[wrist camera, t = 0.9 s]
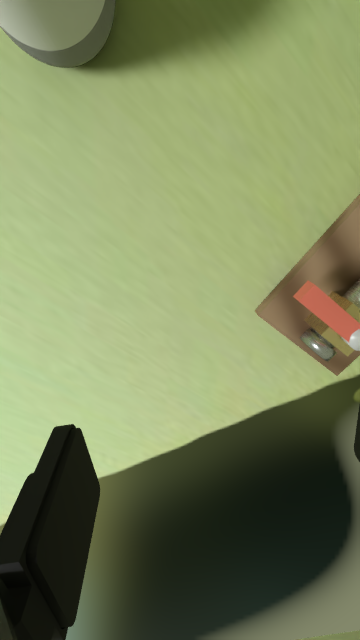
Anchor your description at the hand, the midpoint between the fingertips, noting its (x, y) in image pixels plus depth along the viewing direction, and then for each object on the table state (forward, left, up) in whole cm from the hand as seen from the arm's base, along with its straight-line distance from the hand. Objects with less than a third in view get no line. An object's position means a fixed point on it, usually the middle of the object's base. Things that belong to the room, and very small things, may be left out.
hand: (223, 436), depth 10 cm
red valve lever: (-6, +14, -20) cm, 25 cm away
